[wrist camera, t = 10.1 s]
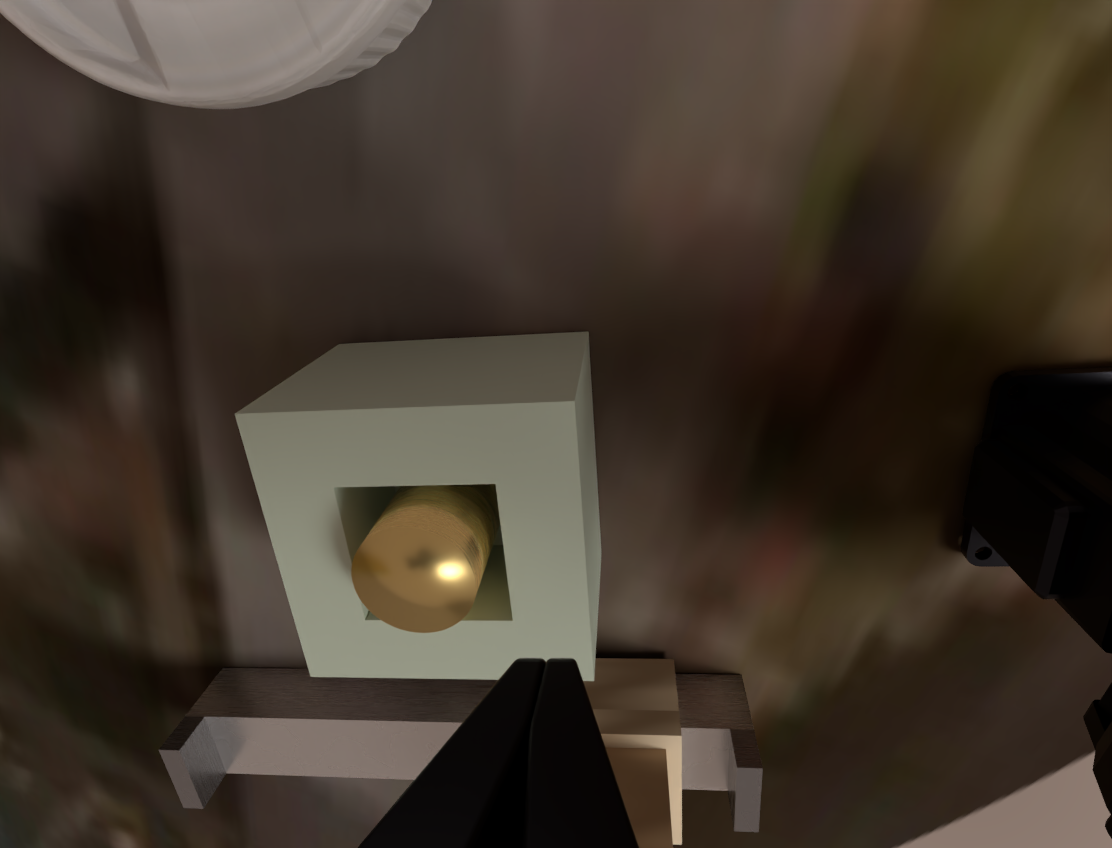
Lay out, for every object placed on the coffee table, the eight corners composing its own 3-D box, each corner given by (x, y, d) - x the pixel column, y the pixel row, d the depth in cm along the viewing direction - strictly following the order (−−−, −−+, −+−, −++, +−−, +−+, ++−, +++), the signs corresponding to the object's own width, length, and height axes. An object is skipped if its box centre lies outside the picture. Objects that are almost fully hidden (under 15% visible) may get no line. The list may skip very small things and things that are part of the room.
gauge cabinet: (588, 331, 20) (574, 401, 14) (601, 557, 23) (594, 686, 17) (339, 343, 20) (234, 414, 15) (384, 559, 24) (312, 681, 18)
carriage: (673, 657, 24) (698, 903, 16) (674, 758, 26) (696, 1022, 18) (540, 655, 24) (500, 892, 16) (551, 754, 26) (520, 1008, 18)
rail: (741, 674, 24) (762, 768, 20) (739, 733, 25) (758, 832, 22) (222, 667, 27) (158, 749, 23) (241, 721, 28) (183, 807, 24)
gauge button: (500, 447, 18) (467, 526, 14) (511, 537, 19) (483, 633, 15) (398, 450, 19) (339, 528, 15) (415, 538, 20) (364, 632, 16)
